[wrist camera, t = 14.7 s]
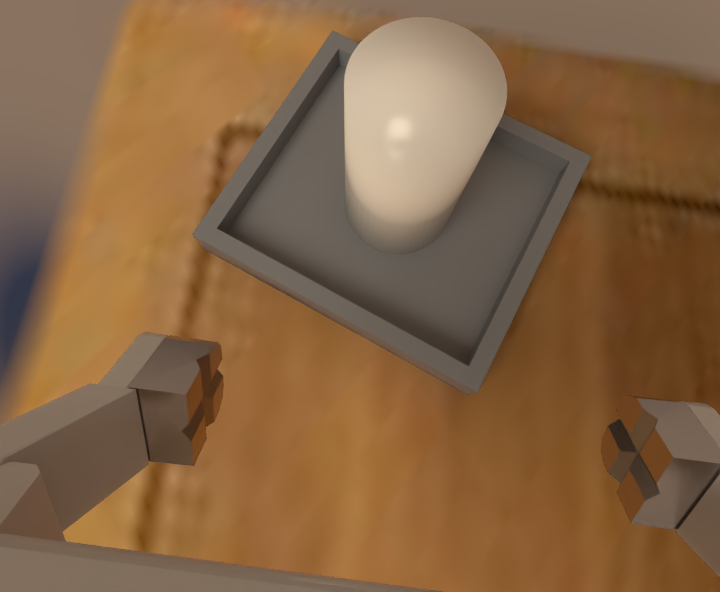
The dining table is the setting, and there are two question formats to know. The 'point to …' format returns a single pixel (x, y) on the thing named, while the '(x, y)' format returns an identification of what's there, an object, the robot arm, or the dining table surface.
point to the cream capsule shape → (415, 128)
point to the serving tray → (385, 270)
